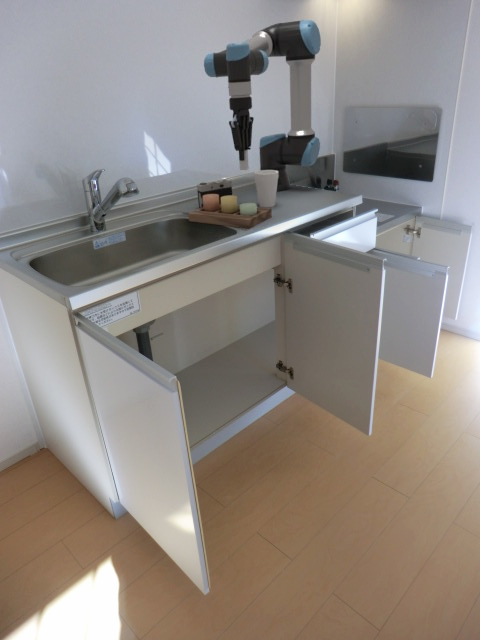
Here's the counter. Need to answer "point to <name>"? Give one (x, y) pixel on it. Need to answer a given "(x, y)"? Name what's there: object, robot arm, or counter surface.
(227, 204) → the yellow short cylinder
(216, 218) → the walnut board
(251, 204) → the pale green cylinder
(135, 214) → the counter surface
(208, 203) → the pink short cylinder
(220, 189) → the camera
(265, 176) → the foam cup
